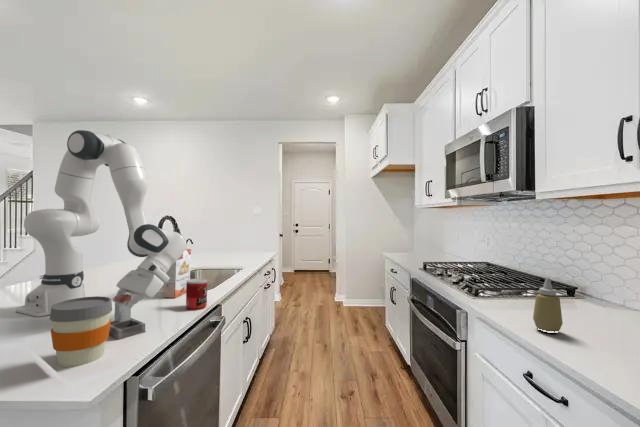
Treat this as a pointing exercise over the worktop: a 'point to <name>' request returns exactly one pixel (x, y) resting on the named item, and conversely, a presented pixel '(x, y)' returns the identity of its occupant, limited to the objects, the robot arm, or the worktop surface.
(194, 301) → the canned food
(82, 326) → the reusable coffee cup
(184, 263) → the cracker box
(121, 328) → the square open tray
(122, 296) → the steel peg
